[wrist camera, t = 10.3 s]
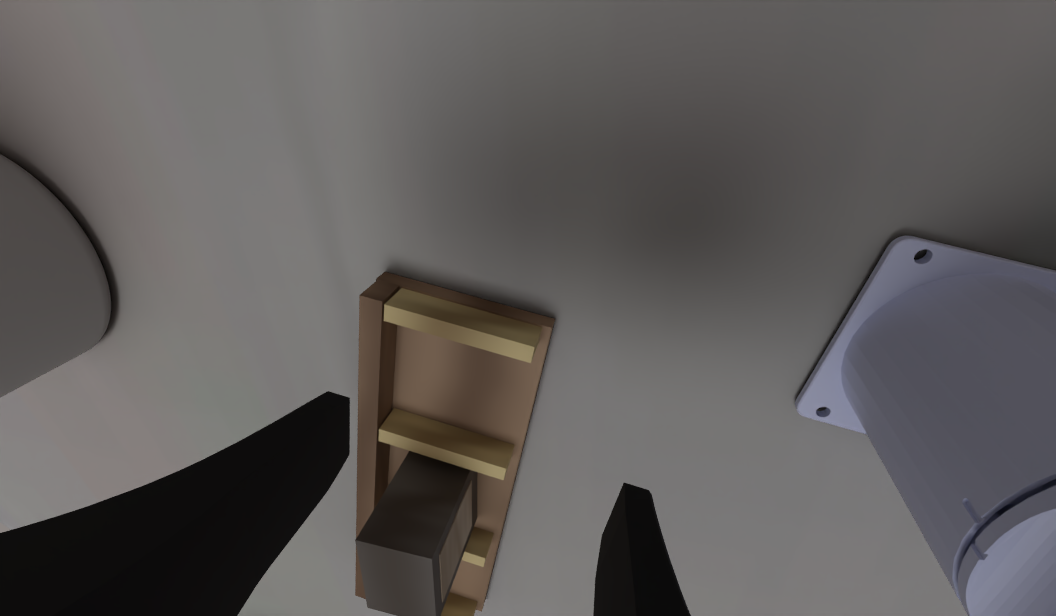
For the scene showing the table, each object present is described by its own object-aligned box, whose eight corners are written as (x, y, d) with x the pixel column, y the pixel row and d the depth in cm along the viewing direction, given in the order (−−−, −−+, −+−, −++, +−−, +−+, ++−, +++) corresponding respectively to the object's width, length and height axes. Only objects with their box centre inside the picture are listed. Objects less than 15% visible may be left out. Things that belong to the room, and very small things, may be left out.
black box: (478, 454, 25) (432, 559, 20) (478, 517, 27) (437, 626, 22) (414, 440, 26) (354, 539, 21) (419, 504, 28) (366, 607, 23)
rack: (555, 319, 21) (544, 347, 19) (485, 599, 32) (473, 637, 30) (384, 271, 22) (357, 294, 20) (372, 560, 33) (354, 594, 31)
